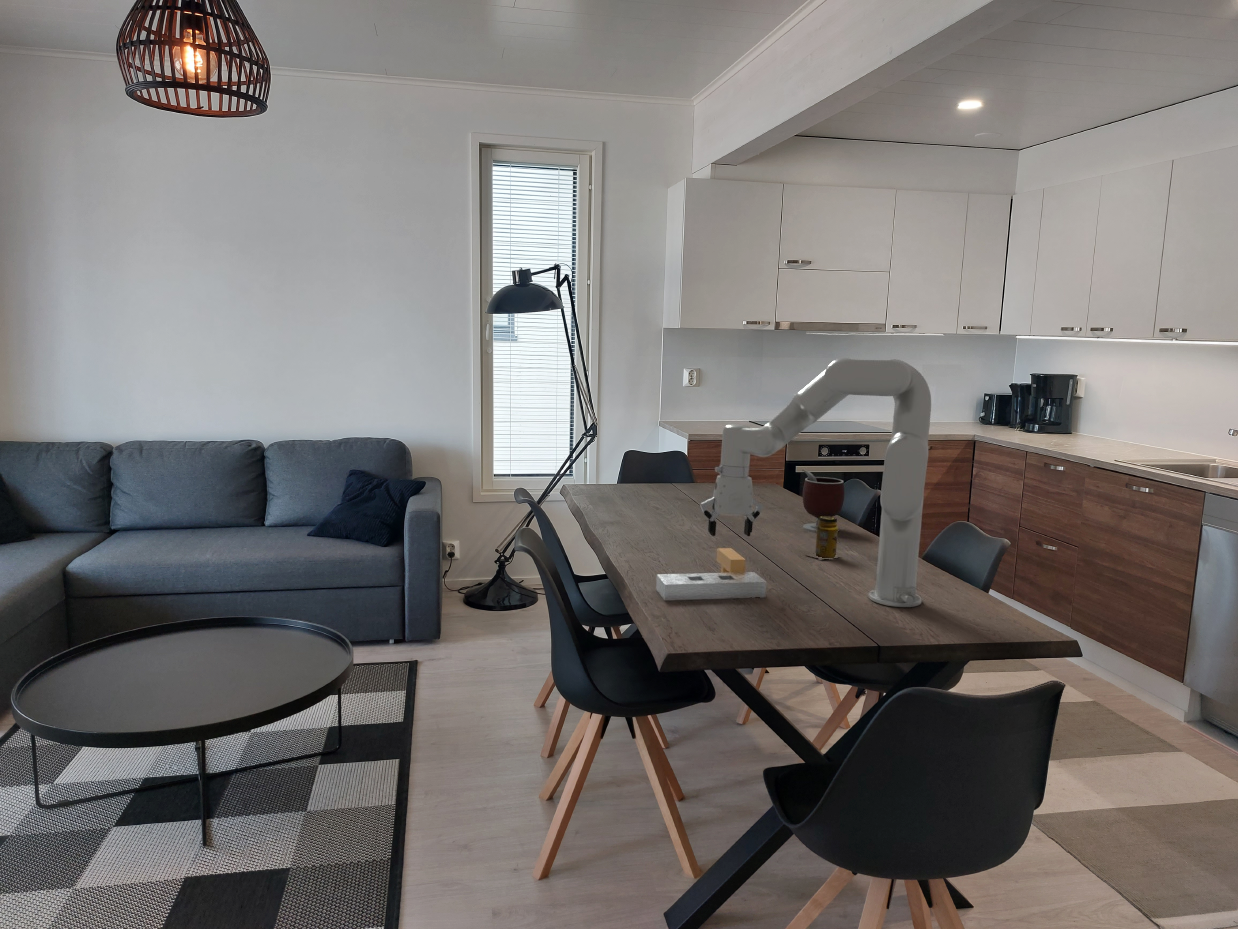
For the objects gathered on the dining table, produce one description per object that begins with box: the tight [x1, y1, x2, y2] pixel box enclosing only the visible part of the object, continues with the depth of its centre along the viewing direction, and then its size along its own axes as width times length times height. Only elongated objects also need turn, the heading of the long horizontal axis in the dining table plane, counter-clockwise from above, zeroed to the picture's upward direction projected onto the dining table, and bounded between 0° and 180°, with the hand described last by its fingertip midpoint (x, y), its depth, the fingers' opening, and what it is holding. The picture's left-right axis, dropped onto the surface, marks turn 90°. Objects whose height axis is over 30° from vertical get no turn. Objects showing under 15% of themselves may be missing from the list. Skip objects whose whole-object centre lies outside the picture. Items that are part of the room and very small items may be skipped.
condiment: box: [814, 516, 839, 558], centre depth 254 cm, size 7×8×12 cm
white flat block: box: [655, 571, 767, 601], centre depth 214 cm, size 9×26×4 cm, turn 101°
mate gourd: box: [801, 468, 845, 533], centre depth 292 cm, size 16×14×20 cm
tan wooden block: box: [716, 547, 746, 573], centre depth 227 cm, size 4×12×7 cm, turn 11°
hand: (729, 535), depth 226 cm, fingers open, 9 cm apart
